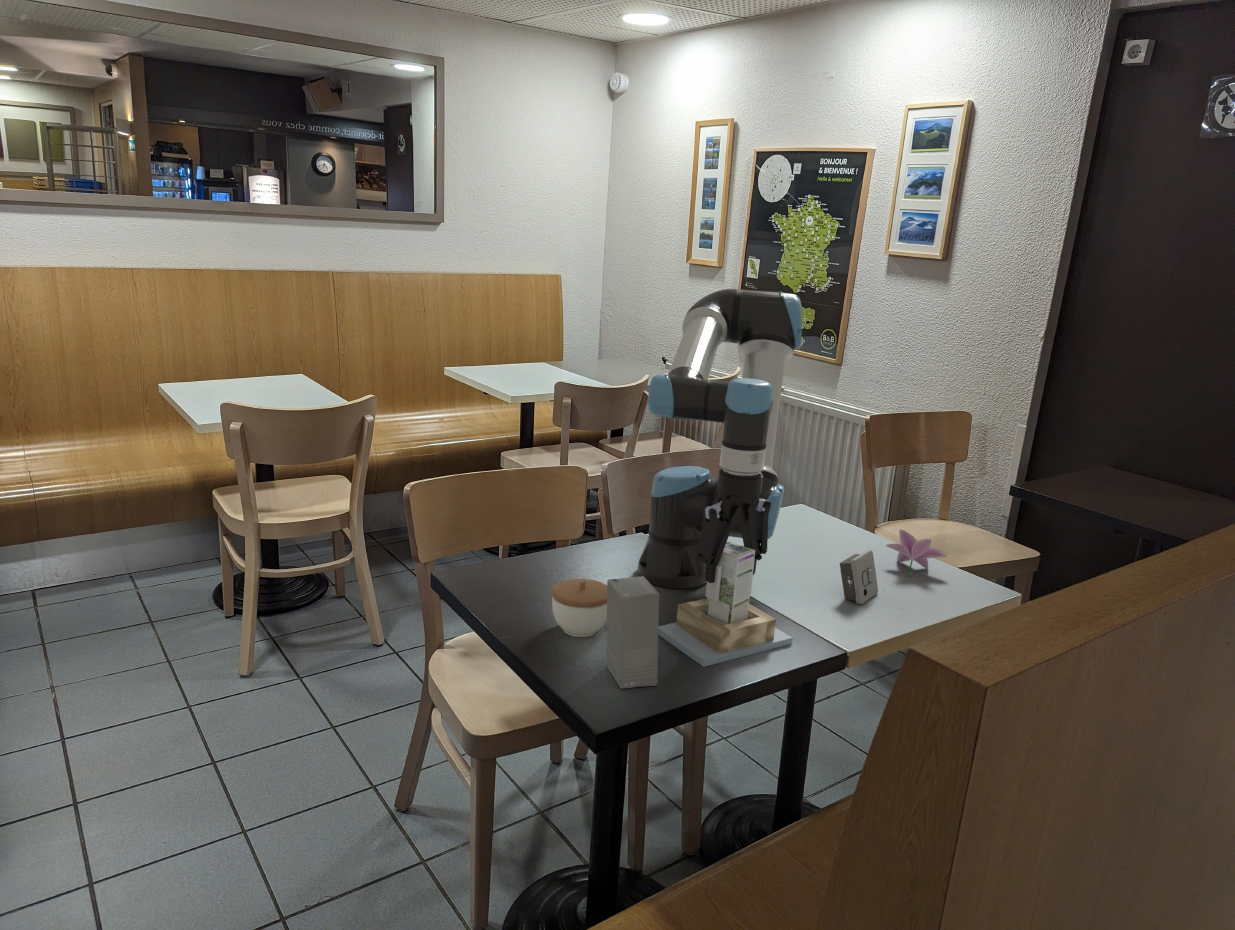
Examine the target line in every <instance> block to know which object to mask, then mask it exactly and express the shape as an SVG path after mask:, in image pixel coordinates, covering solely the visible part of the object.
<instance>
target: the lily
mask: <svg viewBox="0 0 1235 930" xmlns="http://www.w3.org/2000/svg"><path fill="white" fill-rule="evenodd" d="M898 533H899V534H898V535H899V541H900V543H888V544H885V546H886V547H887V548H889V549H891V550H894V551H896V552H898V554H897V557H896V562H897V563H904V562H908V561H910V565H909V571H908V577H911V573H912V565H913V561H914V562H916V563H917V564H918V565H920V566H921V567H923V568H924V569H925V570H928V569H929V560H928V559H933V558H934V559H935V558H947V557H948V555H947V554H945V552H942V551H941V550H938V549H936V548H933V547H931V544H932V541H933V540H932V539H931V538H926V539H921V540H917V538H916V537H915V536H914V535H912V534H911V533H910V532H908V531H906V530H904V529H899V532H898Z"/></svg>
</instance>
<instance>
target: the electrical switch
mask: <svg viewBox="0 0 1235 930" xmlns="http://www.w3.org/2000/svg"><path fill="white" fill-rule="evenodd" d="M875 565H876V564H875V557H874V552H873V550H866V551H864V552H863V553H861V554H859V553H854V554H853V555H851V556H850V557H848V558H846V559H845V560H844V559H843V560H842V561H840V562H839V569H840V576H841V581H842V583H841V584H842V590H843V596H844V600H847V601H855V602H856V604H857V605H863V604H864V603H866V602H868V601H869V600H871V598H873V597H874V596H876V595H878V592H879V587H878V579H877V573H876V566H875Z"/></svg>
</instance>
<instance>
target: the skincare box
mask: <svg viewBox="0 0 1235 930" xmlns="http://www.w3.org/2000/svg"><path fill="white" fill-rule="evenodd" d="M606 585H607V620H606V667H607V670H608V671H609V672H610V674H611V676H612V678H613V679H614V680H615V682H616V683H617V685H618V686H619V688H620V689H632V688H639V687H652V686H657V685H658V680H659V679H658V674H659V671H658V667H659V663H658V662H659V635H658V626H659V621H660V620H659V618H660V617H659V616H660V615H659V611H660V609H659V608H660V593H659V592H658V591H657V590H656V589H655V587H654V586H653V584H651V583H649V582H648V581H647V580H646V578H645V577H644V576H641V577H639V576H634V577H633V576H632V577H622V578H621V577H619V578H611V579H607V582H606Z"/></svg>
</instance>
